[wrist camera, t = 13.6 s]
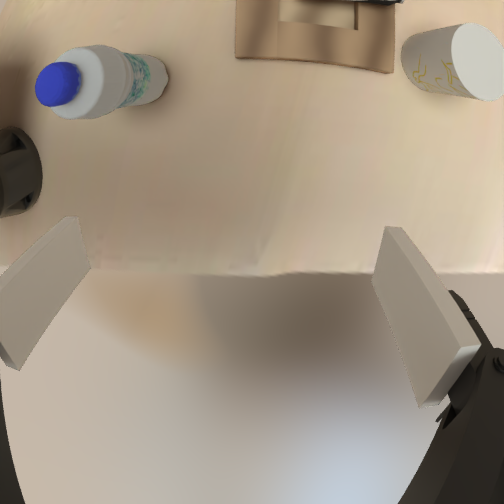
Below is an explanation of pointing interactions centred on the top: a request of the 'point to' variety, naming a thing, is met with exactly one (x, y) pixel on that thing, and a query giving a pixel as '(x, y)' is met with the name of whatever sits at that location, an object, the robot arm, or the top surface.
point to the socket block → (317, 32)
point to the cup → (456, 61)
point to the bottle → (99, 82)
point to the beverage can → (380, 1)
